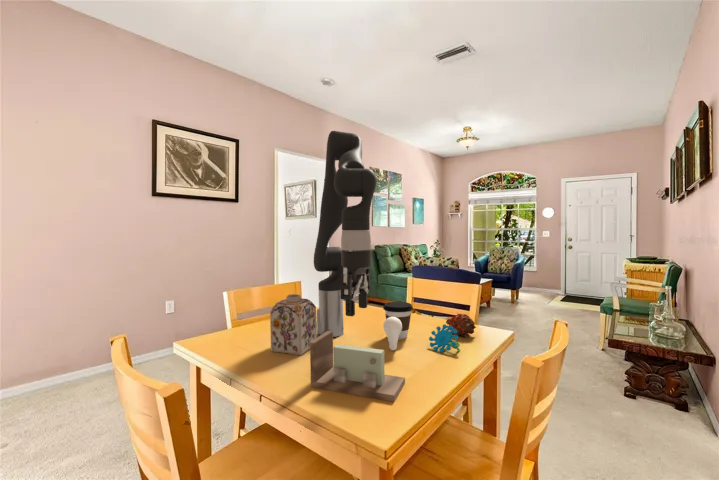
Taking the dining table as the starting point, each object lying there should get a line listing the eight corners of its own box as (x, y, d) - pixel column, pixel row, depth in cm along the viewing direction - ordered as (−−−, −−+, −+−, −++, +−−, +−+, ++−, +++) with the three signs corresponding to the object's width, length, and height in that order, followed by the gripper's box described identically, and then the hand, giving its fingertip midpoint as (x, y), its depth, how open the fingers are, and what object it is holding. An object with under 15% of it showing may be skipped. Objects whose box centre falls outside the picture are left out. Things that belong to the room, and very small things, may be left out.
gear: (422, 342, 114) (439, 319, 117) (430, 351, 117) (446, 328, 120) (447, 357, 105) (465, 331, 108) (455, 366, 108) (472, 341, 110)
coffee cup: (379, 339, 122) (379, 306, 122) (388, 331, 133) (388, 300, 132) (409, 343, 118) (408, 308, 118) (416, 333, 128) (416, 302, 128)
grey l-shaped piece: (310, 386, 87) (310, 342, 86) (328, 371, 96) (327, 330, 96) (394, 401, 78) (393, 352, 78) (404, 383, 88) (404, 339, 87)
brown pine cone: (475, 343, 121) (447, 340, 131) (484, 325, 126) (457, 323, 135) (464, 327, 119) (437, 324, 128) (473, 309, 123) (447, 308, 133)
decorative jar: (288, 340, 123) (287, 291, 122) (317, 344, 119) (317, 292, 118) (269, 352, 112) (268, 297, 111) (300, 356, 108) (299, 299, 107)
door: (331, 379, 87) (331, 349, 87) (337, 373, 91) (337, 344, 90) (379, 388, 82) (379, 355, 82) (384, 381, 86) (384, 350, 85)
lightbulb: (390, 354, 108) (389, 320, 107) (380, 348, 113) (379, 316, 113) (406, 351, 110) (405, 317, 110) (395, 345, 116) (395, 313, 115)
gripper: (353, 246, 94) (354, 304, 95) (330, 249, 81) (331, 317, 81) (379, 246, 91) (379, 306, 92) (359, 250, 78) (360, 320, 79)
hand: (356, 311), depth 87 cm, fingers open, 8 cm apart
